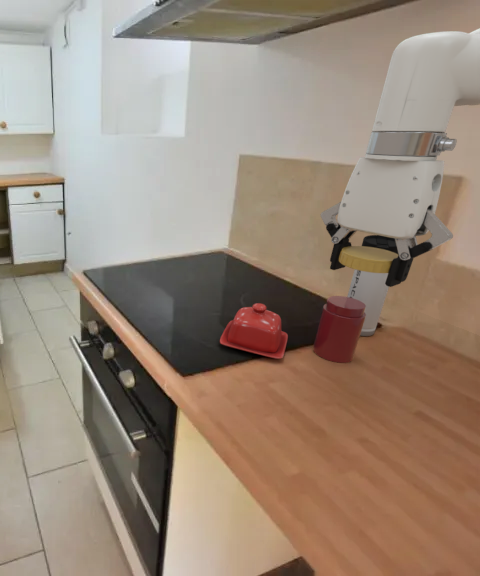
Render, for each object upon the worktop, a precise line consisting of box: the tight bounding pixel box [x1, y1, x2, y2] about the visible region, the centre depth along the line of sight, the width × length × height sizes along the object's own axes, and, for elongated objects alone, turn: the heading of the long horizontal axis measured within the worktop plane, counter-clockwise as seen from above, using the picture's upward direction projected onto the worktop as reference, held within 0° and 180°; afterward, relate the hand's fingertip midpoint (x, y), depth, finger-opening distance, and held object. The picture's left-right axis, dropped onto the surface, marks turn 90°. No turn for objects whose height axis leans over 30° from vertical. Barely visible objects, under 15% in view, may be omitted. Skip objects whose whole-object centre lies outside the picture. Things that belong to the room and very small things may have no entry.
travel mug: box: [346, 234, 399, 337], centre depth 77 cm, size 6×7×20 cm
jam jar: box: [312, 295, 366, 364], centre depth 70 cm, size 7×7×11 cm
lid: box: [339, 245, 398, 273], centre depth 55 cm, size 7×7×2 cm
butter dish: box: [219, 302, 289, 360], centre depth 73 cm, size 12×12×8 cm
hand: (363, 275), depth 56 cm, fingers closed on lid, 7 cm apart
